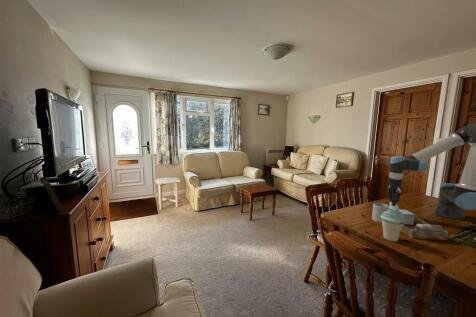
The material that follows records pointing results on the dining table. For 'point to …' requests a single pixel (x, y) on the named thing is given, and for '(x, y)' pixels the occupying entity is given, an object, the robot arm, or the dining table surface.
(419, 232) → the bay
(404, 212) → the crate
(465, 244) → the dining table surface
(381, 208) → the mug
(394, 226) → the frozen yogurt cup
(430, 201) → the dining table surface
